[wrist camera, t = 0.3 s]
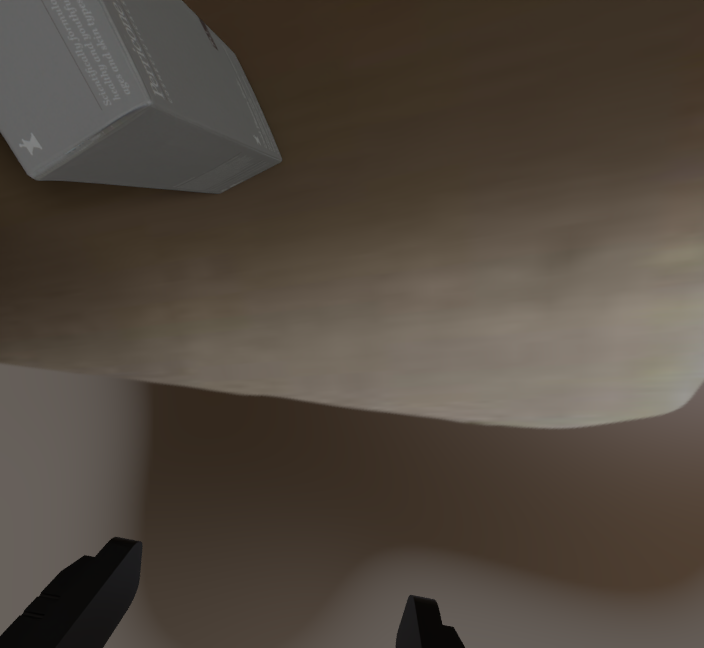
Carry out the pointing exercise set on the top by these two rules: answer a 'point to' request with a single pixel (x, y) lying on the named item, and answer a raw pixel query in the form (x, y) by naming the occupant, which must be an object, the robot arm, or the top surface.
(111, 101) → the skincare box
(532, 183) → the top surface
